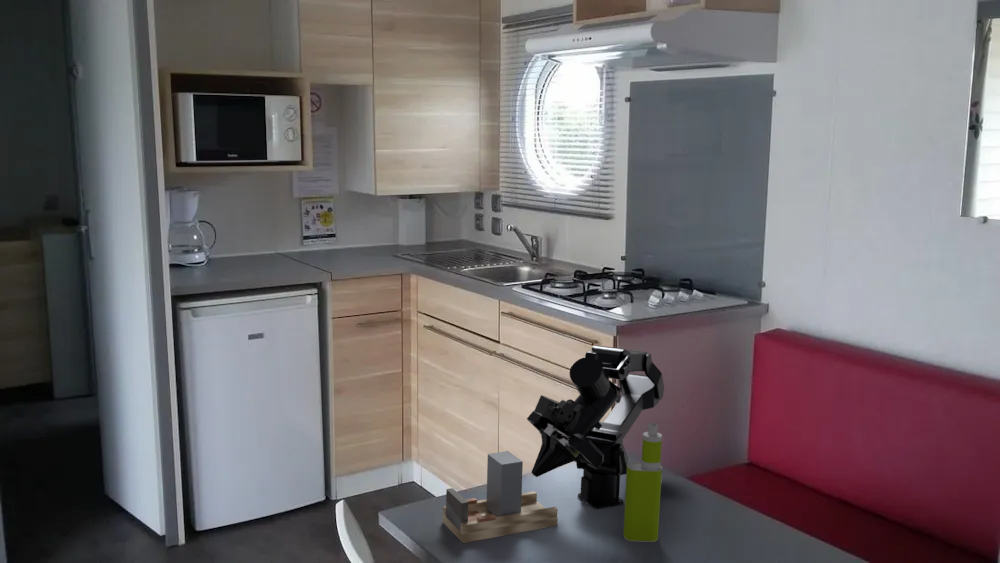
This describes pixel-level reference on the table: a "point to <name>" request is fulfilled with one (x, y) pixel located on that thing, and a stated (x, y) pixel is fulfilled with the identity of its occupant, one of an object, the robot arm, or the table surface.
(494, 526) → the sleeve track
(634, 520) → the vape
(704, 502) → the table surface
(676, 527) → the table surface
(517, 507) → the grey rectangular box
